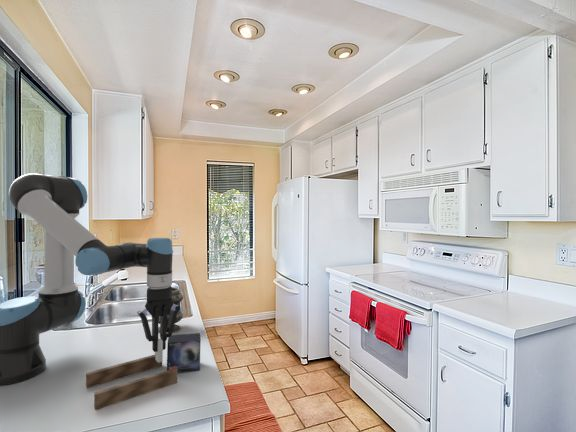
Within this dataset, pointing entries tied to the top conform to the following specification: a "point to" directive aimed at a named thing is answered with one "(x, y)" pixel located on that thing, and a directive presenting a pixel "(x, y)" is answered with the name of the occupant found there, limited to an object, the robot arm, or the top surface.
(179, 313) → the apothecary jar
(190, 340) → the small box
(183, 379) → the top surface
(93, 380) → the chute
